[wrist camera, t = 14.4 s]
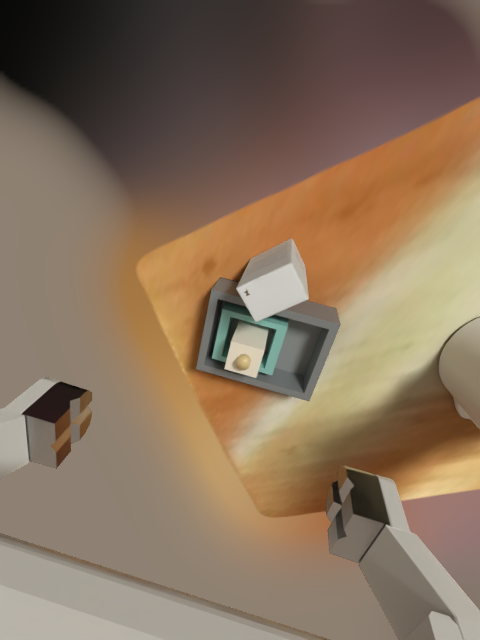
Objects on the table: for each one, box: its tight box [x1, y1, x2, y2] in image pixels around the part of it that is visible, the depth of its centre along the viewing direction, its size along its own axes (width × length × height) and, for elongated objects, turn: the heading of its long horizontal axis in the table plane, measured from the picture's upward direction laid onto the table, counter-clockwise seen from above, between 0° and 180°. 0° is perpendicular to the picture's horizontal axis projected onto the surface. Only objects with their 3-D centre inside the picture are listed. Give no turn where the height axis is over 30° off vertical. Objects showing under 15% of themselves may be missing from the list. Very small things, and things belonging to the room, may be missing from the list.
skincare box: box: [236, 238, 309, 322], centre depth 37 cm, size 6×4×12 cm
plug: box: [224, 320, 269, 378], centre depth 42 cm, size 4×4×9 cm
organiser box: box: [196, 277, 340, 401], centre depth 44 cm, size 16×12×5 cm
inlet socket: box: [212, 302, 288, 375], centre depth 44 cm, size 8×8×4 cm
